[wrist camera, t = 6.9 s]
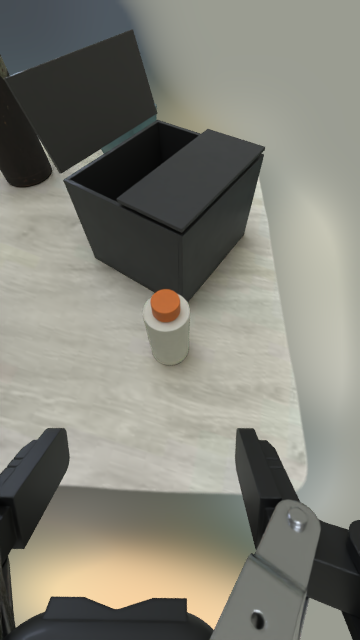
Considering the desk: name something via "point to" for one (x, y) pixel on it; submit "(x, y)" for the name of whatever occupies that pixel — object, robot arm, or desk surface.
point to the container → (19, 141)
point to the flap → (85, 98)
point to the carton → (167, 204)
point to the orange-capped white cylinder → (167, 326)
